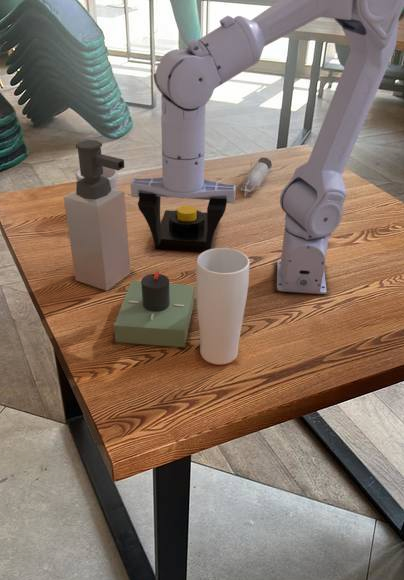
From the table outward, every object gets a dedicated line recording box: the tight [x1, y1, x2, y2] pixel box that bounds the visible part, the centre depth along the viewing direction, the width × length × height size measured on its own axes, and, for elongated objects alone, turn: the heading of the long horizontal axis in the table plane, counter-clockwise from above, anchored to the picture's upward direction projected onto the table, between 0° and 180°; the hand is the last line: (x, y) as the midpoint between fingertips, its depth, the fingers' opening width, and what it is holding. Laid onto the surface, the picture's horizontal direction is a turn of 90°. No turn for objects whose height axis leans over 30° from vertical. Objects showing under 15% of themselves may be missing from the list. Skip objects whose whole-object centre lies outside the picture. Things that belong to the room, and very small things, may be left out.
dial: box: [140, 271, 170, 311], centre depth 83 cm, size 4×4×4 cm
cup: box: [75, 167, 119, 190], centre depth 112 cm, size 11×8×8 cm
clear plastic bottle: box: [239, 156, 273, 197], centre depth 126 cm, size 18×5×6 cm, turn 161°
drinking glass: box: [195, 247, 251, 366], centre depth 76 cm, size 7×7×15 cm
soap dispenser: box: [63, 139, 131, 291], centre depth 89 cm, size 6×9×22 cm
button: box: [176, 205, 198, 222], centre depth 105 cm, size 4×4×2 cm
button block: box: [154, 209, 215, 253], centre depth 107 cm, size 12×10×4 cm
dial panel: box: [113, 280, 195, 348], centre depth 85 cm, size 12×10×3 cm
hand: (183, 244), depth 85 cm, fingers open, 7 cm apart
